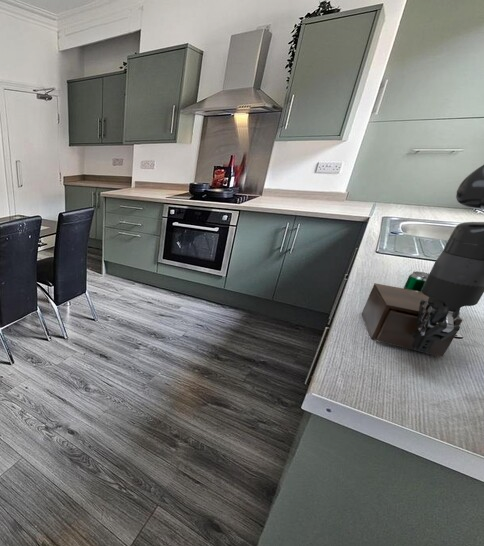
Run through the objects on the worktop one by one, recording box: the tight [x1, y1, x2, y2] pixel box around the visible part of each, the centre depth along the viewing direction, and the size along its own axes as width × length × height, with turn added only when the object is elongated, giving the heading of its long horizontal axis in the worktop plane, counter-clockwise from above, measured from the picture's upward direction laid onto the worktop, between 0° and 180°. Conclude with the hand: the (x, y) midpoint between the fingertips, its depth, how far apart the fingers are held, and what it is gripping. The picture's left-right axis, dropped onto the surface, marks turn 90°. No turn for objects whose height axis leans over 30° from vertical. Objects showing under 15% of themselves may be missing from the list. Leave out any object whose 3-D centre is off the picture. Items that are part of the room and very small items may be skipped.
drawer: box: [376, 309, 460, 358], centre depth 74 cm, size 15×11×8 cm
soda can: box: [403, 271, 430, 292], centre depth 85 cm, size 5×5×12 cm
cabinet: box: [361, 282, 463, 341], centre depth 77 cm, size 15×12×10 cm
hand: (419, 349), depth 67 cm, fingers closed
